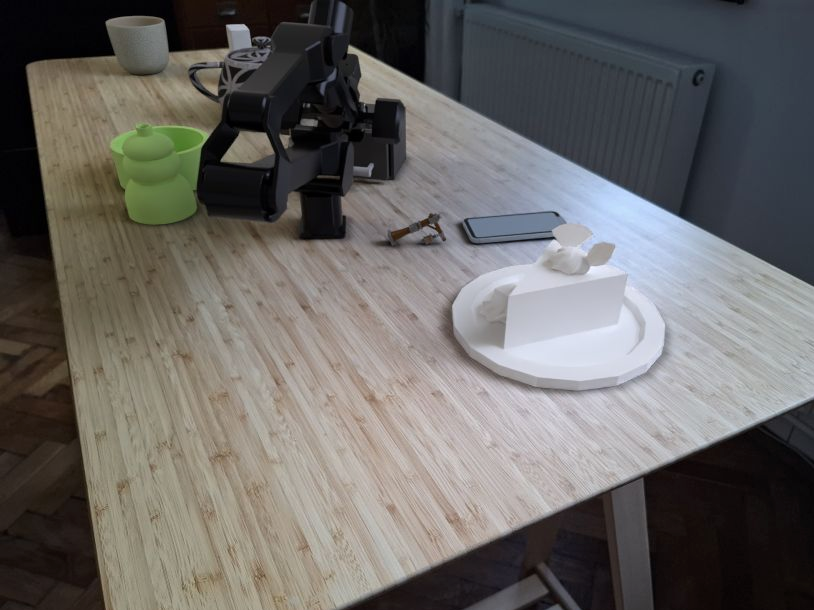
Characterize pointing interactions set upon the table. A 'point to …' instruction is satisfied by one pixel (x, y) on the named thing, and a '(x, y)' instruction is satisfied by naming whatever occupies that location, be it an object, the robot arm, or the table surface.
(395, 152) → the cabinet
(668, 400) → the table surface
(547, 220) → the smartphone
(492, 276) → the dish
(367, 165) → the drawer
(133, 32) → the planter
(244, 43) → the cosmetic box
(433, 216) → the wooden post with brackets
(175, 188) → the food container
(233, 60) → the teapot
